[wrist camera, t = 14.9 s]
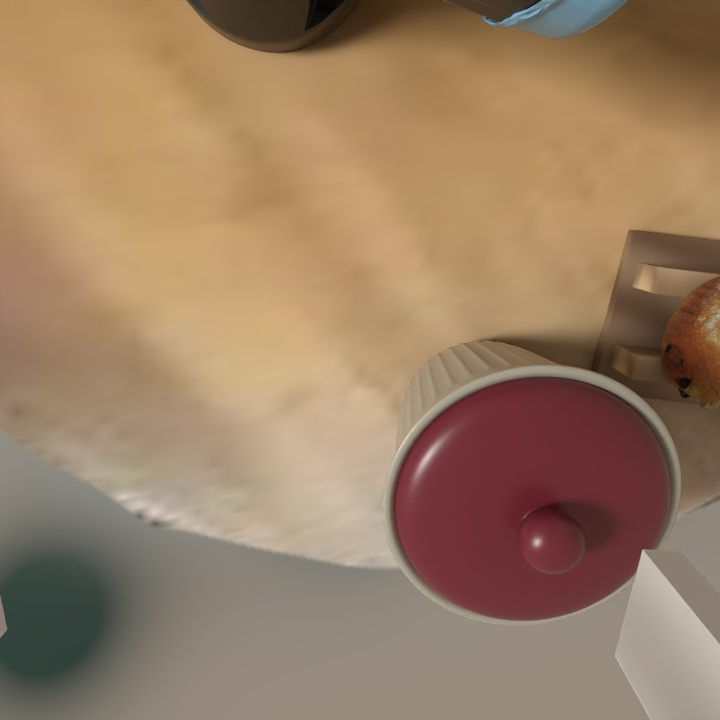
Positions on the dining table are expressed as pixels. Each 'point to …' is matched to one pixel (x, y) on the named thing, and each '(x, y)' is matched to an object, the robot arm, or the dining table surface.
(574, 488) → the canister
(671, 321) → the bread roll
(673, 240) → the display stand
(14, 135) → the dining table surface
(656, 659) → the robot arm
